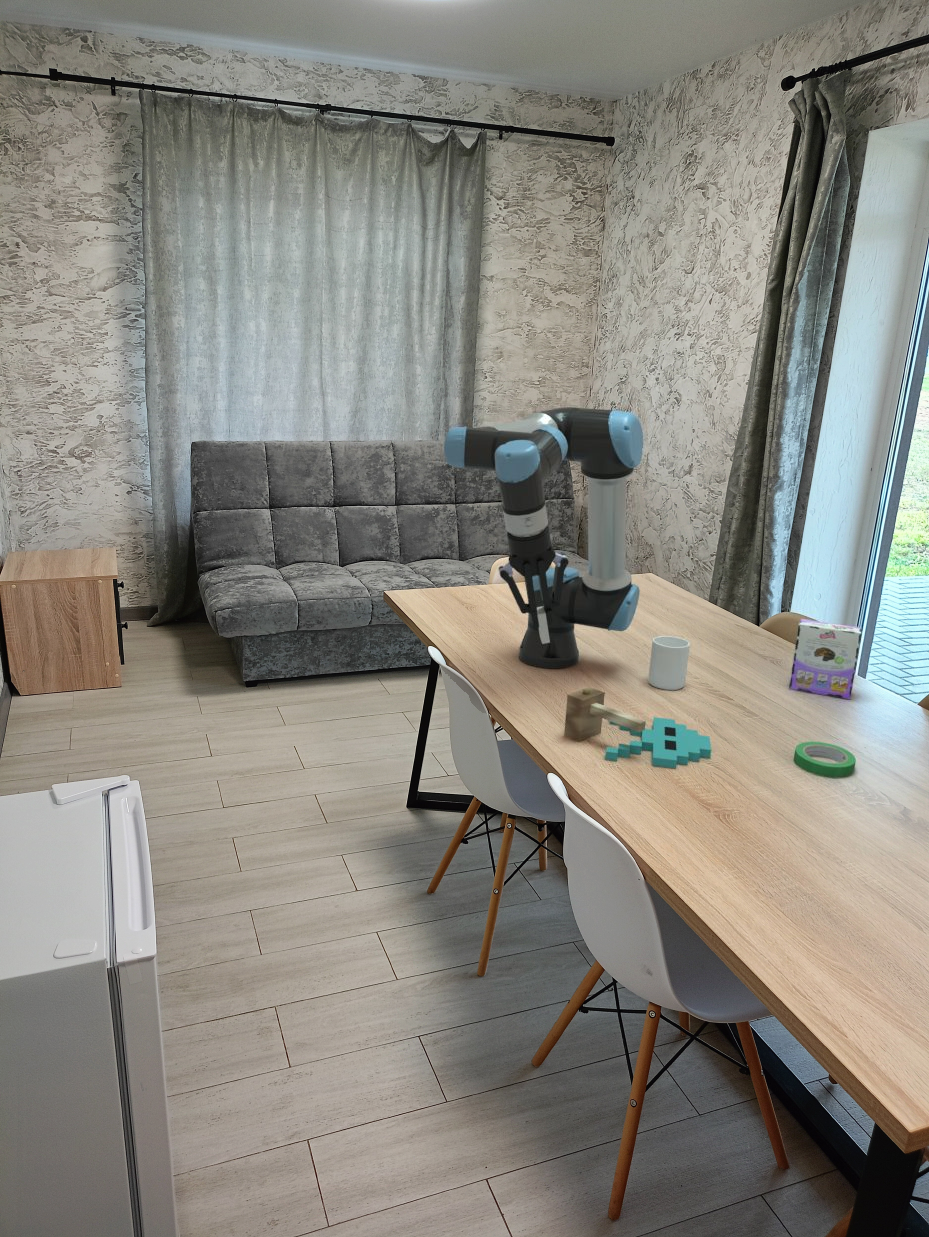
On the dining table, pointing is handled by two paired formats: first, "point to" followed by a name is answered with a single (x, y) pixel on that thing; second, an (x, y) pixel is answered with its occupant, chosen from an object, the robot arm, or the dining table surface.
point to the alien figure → (665, 744)
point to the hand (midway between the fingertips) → (544, 639)
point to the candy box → (825, 658)
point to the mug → (668, 662)
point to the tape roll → (824, 768)
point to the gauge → (593, 715)
